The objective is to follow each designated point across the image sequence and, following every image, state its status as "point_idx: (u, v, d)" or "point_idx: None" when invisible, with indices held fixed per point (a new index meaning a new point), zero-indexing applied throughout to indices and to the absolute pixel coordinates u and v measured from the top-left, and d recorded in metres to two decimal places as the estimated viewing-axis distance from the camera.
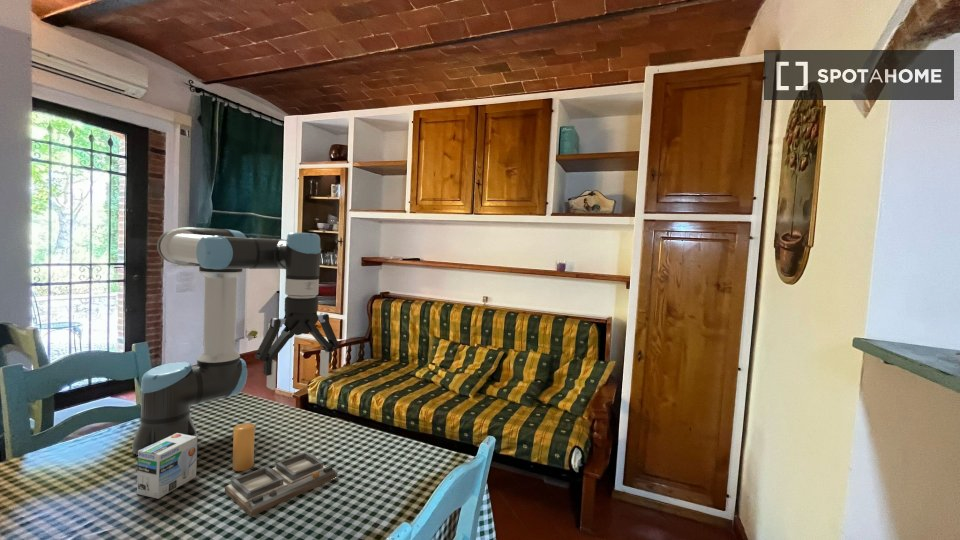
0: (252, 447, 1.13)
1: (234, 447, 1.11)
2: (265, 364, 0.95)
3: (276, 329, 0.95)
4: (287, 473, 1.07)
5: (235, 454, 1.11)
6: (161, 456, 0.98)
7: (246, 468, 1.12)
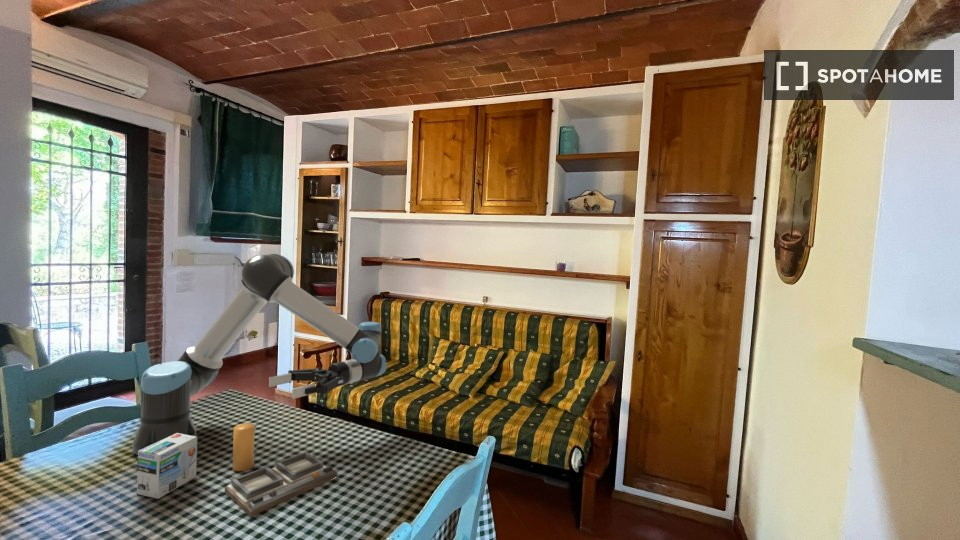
0: (252, 447, 1.13)
1: (234, 447, 1.11)
2: (315, 390, 1.20)
3: None
4: (287, 473, 1.07)
5: (235, 454, 1.11)
6: (161, 456, 0.98)
7: (246, 468, 1.12)
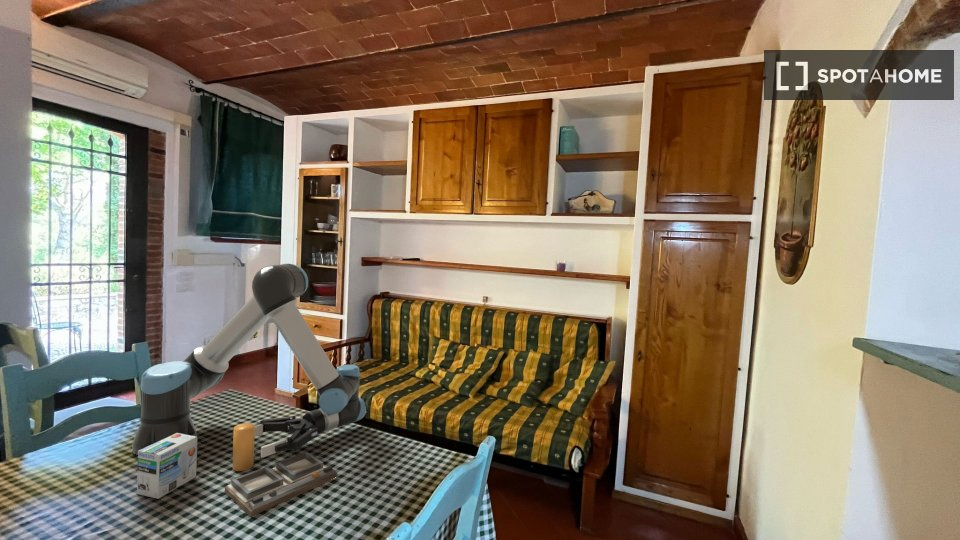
0: (252, 447, 1.13)
1: (234, 447, 1.11)
2: (286, 447, 1.14)
3: None
4: (287, 473, 1.07)
5: (235, 454, 1.11)
6: (161, 456, 0.98)
7: (246, 468, 1.12)
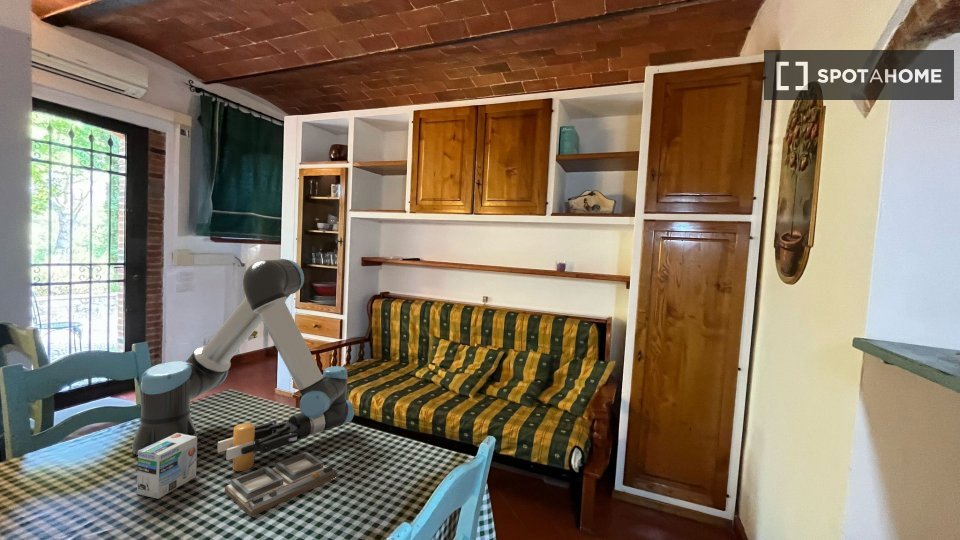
0: None
1: None
2: (253, 449, 1.11)
3: None
4: (287, 473, 1.07)
5: None
6: (161, 456, 0.97)
7: (246, 468, 1.12)
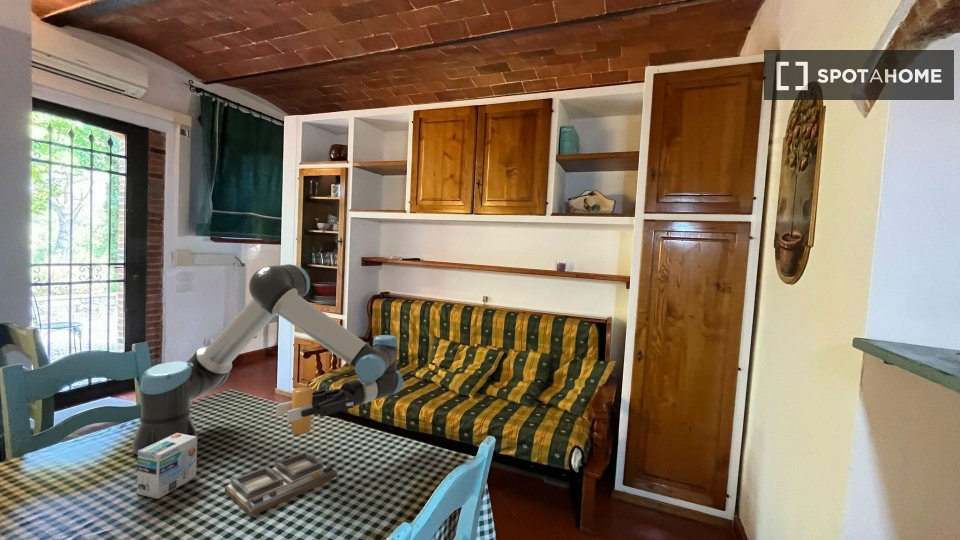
0: None
1: None
2: (312, 412, 1.09)
3: None
4: (287, 473, 1.07)
5: None
6: (161, 456, 0.98)
7: (305, 432, 1.09)
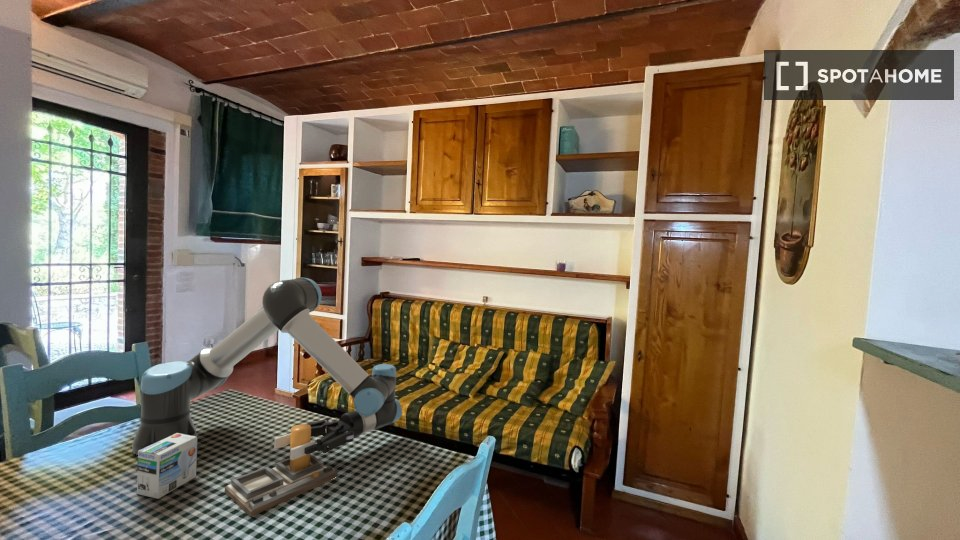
0: None
1: None
2: (315, 449, 1.09)
3: None
4: (287, 473, 1.07)
5: None
6: (161, 456, 0.97)
7: None
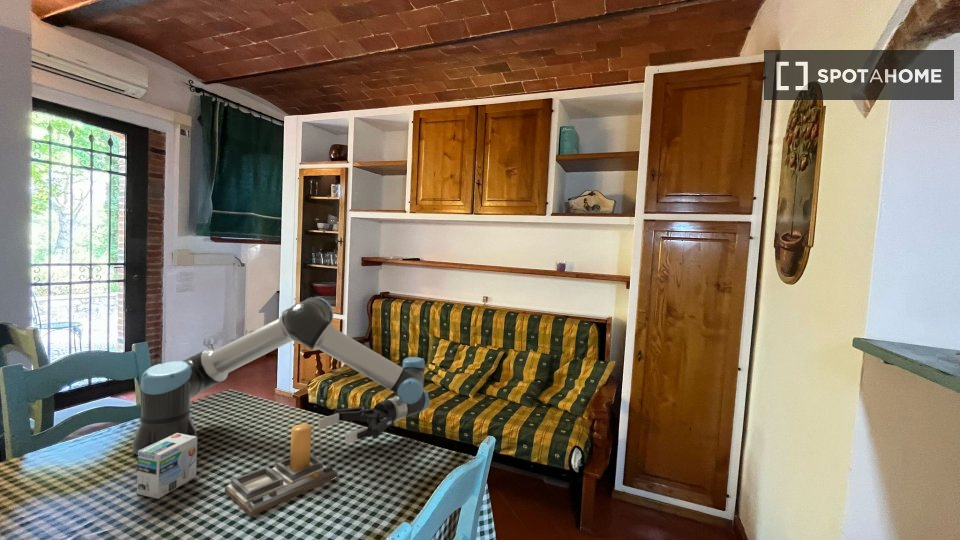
0: (309, 448, 1.11)
1: (292, 449, 1.09)
2: (367, 434, 1.18)
3: None
4: (287, 473, 1.07)
5: (293, 455, 1.09)
6: (161, 456, 0.97)
7: None
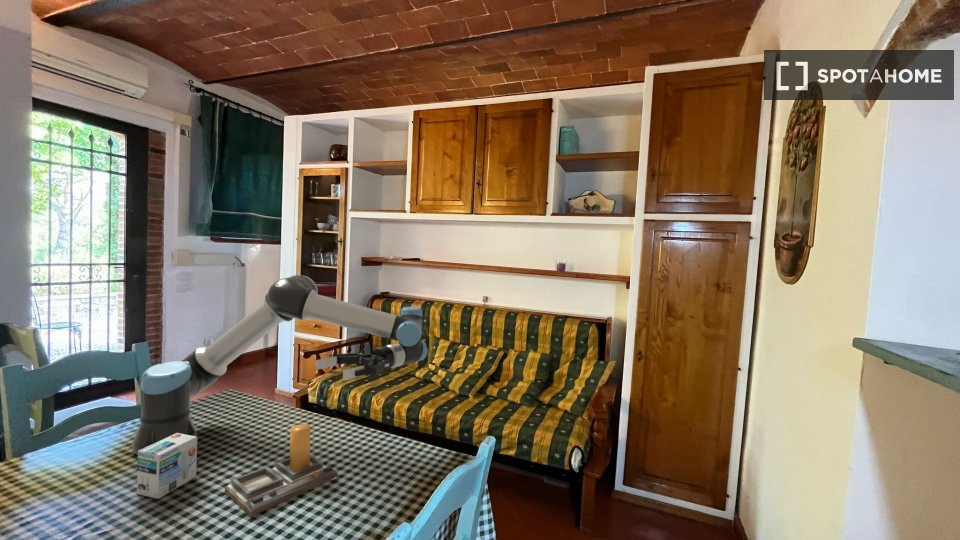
0: (309, 448, 1.11)
1: (291, 449, 1.09)
2: (364, 373, 1.19)
3: None
4: (287, 473, 1.07)
5: (292, 455, 1.09)
6: (161, 456, 0.97)
7: None
